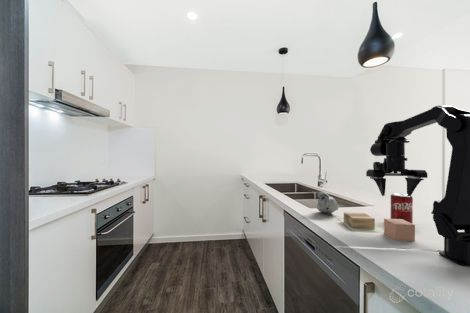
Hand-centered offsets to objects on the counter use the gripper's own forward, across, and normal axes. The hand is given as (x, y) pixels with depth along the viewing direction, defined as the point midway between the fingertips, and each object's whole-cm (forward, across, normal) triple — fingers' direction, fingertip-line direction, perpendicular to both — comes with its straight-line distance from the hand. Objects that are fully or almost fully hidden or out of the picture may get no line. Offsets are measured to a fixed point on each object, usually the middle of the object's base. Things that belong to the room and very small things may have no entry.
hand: (395, 196), depth 79 cm
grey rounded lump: (+13, +20, -17) cm, 29 cm away
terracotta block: (+13, +4, +8) cm, 16 cm away
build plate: (+13, +12, -3) cm, 18 cm away
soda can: (+13, -7, -9) cm, 17 cm away
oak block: (+12, +13, -2) cm, 18 cm away
